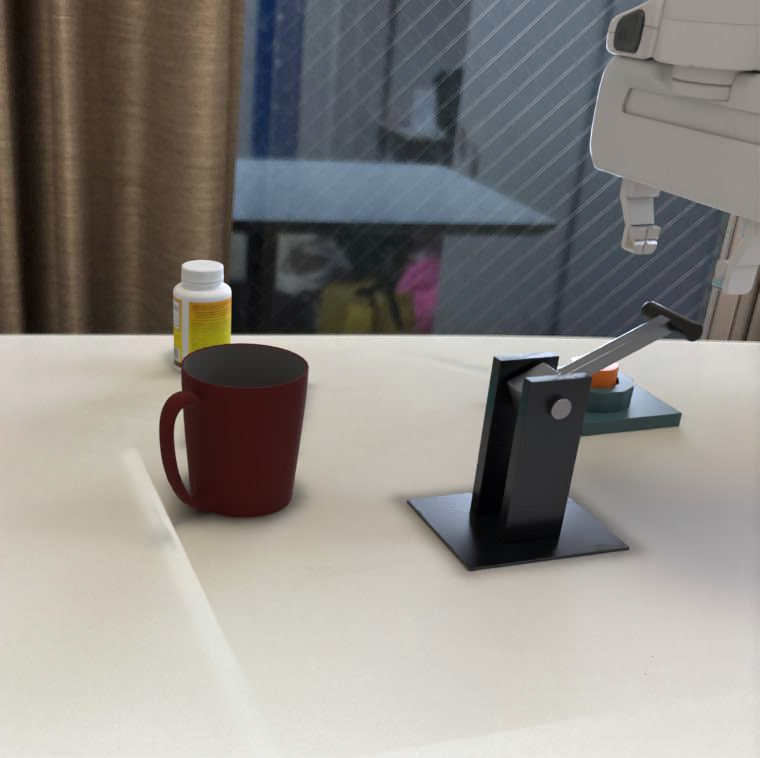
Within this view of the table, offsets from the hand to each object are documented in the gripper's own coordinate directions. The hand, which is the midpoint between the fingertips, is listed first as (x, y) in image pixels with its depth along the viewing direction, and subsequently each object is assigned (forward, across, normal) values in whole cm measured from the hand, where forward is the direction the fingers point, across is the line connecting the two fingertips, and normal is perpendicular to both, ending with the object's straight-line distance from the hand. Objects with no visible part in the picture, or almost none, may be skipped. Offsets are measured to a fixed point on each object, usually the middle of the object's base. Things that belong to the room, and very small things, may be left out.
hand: (680, 270), depth 67 cm
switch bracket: (+19, 0, +9) cm, 21 cm away
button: (+15, +18, -8) cm, 24 cm away
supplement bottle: (+19, +38, +22) cm, 47 cm away
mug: (+19, +8, +28) cm, 35 cm away
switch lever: (+7, 0, +4) cm, 8 cm away
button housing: (+18, +18, -8) cm, 27 cm away
